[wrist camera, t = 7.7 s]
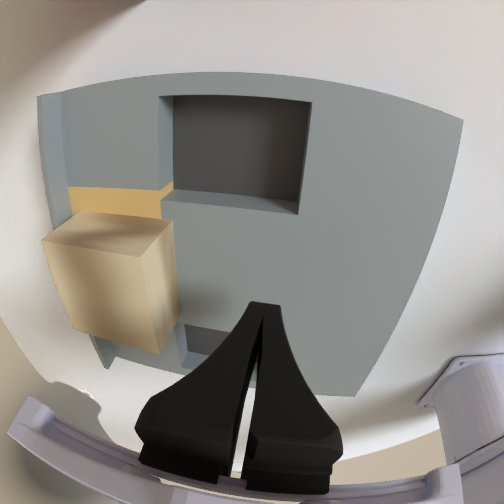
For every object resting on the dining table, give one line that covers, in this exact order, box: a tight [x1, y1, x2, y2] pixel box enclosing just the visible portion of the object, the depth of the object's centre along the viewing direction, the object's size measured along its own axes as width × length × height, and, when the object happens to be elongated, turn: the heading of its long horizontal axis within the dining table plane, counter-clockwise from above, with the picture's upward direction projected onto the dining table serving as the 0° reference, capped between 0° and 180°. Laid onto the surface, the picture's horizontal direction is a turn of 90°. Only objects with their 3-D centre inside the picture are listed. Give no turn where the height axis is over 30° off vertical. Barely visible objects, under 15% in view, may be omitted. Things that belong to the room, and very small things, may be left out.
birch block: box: [41, 211, 181, 355], centre depth 14 cm, size 6×6×4 cm
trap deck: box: [37, 72, 463, 397], centre depth 15 cm, size 20×20×4 cm
